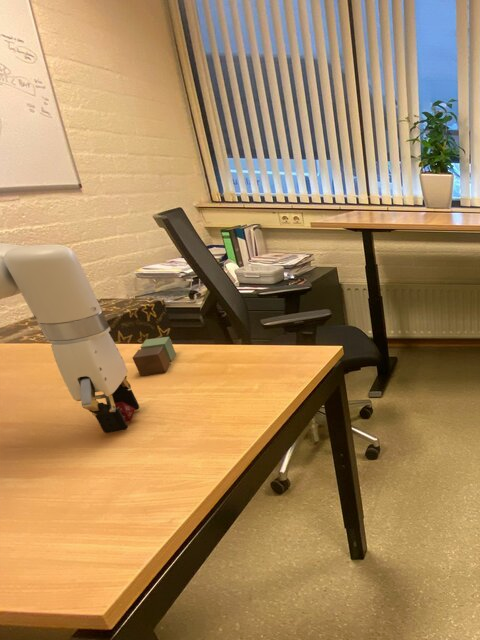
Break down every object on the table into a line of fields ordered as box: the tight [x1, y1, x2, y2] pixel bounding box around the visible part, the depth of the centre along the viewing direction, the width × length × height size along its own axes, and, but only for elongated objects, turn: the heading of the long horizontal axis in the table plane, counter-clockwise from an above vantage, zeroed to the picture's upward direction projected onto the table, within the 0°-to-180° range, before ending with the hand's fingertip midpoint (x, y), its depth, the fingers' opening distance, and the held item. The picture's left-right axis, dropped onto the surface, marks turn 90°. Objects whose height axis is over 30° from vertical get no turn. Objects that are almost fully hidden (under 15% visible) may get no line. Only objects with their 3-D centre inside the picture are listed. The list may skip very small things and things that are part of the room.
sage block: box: [140, 336, 177, 363], centre depth 96 cm, size 4×4×4 cm
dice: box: [114, 402, 136, 423], centre depth 74 cm, size 4×4×4 cm
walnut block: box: [132, 346, 171, 377], centre depth 91 cm, size 4×4×4 cm
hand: (122, 419), depth 74 cm, fingers open, 6 cm apart
